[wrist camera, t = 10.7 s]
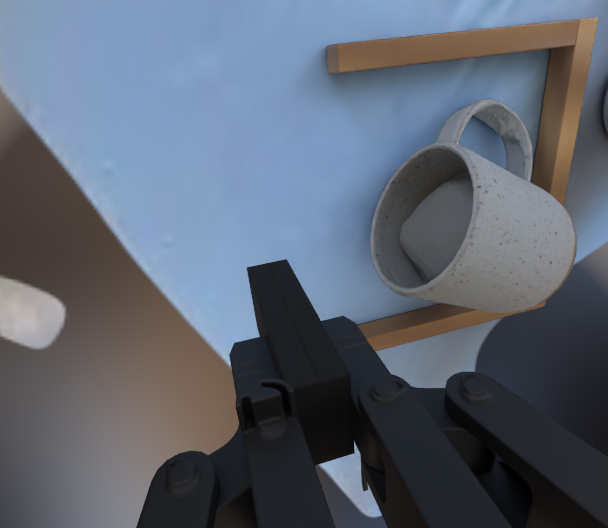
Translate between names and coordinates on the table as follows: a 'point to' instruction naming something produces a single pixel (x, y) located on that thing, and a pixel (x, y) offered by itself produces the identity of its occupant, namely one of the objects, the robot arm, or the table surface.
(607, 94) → the water bottle
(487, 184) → the ceramic mug
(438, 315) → the oak frame
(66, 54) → the table surface
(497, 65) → the table surface
